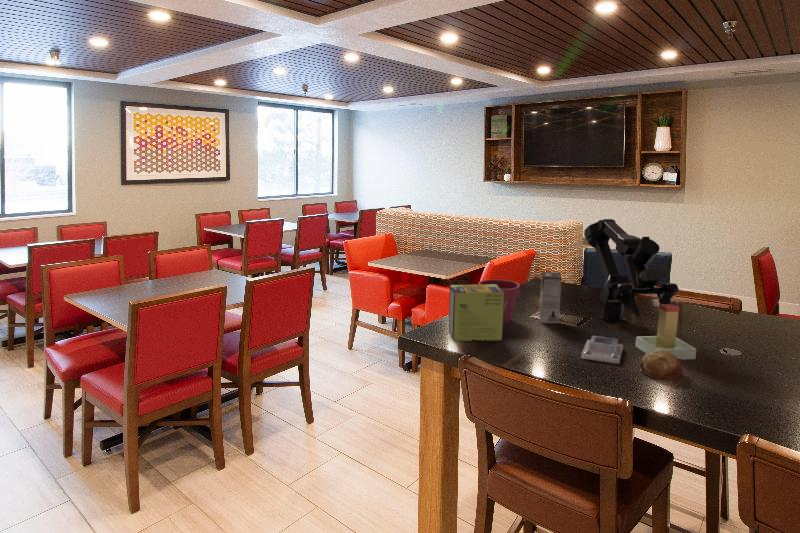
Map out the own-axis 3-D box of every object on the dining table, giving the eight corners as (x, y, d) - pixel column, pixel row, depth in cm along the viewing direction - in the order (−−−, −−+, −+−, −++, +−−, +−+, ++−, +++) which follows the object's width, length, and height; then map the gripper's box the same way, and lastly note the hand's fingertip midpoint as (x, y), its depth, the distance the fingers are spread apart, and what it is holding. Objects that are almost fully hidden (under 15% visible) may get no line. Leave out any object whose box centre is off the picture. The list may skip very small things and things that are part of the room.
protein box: (502, 340, 170) (504, 291, 167) (453, 341, 169) (454, 292, 166) (494, 330, 180) (496, 283, 177) (448, 330, 179) (449, 284, 176)
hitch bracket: (587, 344, 167) (587, 333, 166) (622, 349, 163) (623, 338, 162) (581, 358, 155) (582, 346, 155) (619, 364, 151) (620, 352, 150)
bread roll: (637, 378, 151) (628, 354, 149) (672, 362, 151) (662, 337, 149) (657, 394, 141) (647, 367, 139) (693, 377, 141) (684, 350, 139)
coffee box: (538, 315, 197) (541, 271, 194) (557, 316, 196) (560, 272, 192) (540, 322, 188) (542, 276, 185) (559, 324, 187) (562, 277, 184)
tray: (635, 346, 166) (636, 336, 165) (672, 345, 166) (673, 335, 166) (655, 360, 154) (656, 349, 154) (695, 359, 155) (696, 349, 155)
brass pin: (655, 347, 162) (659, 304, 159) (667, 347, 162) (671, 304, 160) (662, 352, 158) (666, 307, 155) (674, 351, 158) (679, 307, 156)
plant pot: (523, 325, 186) (525, 288, 183) (482, 326, 184) (484, 288, 182) (511, 313, 200) (512, 278, 197) (473, 314, 198) (474, 279, 196)
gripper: (620, 258, 167) (634, 303, 158) (679, 257, 168) (696, 302, 160) (606, 277, 176) (619, 321, 168) (662, 276, 178) (678, 320, 169)
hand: (653, 316), depth 166 cm, fingers open, 9 cm apart
